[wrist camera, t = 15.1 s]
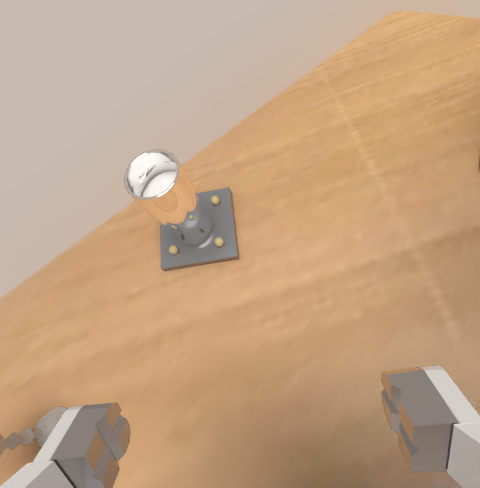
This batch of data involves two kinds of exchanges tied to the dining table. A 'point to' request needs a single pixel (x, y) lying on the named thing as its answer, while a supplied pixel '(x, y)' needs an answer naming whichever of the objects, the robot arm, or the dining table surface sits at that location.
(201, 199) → the coaster
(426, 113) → the dining table surface
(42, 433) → the chalice
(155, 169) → the beer glass
